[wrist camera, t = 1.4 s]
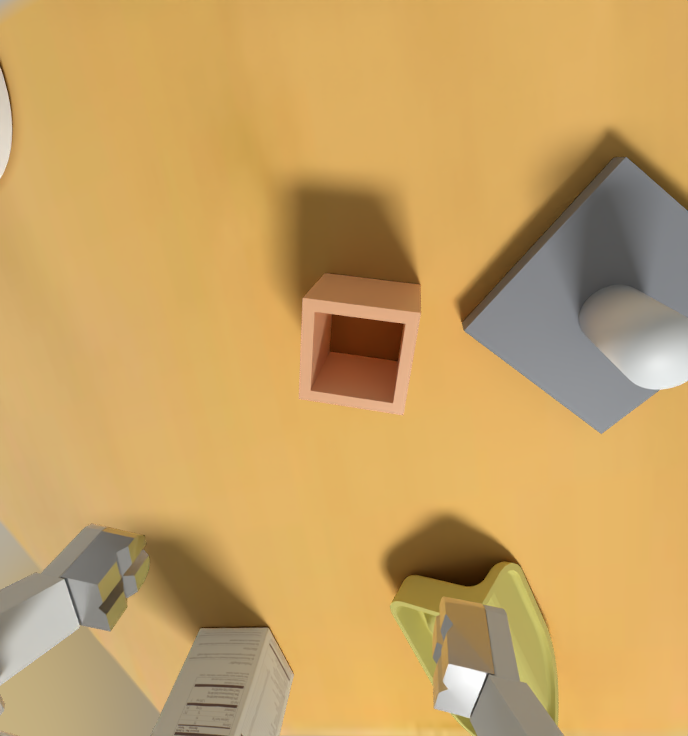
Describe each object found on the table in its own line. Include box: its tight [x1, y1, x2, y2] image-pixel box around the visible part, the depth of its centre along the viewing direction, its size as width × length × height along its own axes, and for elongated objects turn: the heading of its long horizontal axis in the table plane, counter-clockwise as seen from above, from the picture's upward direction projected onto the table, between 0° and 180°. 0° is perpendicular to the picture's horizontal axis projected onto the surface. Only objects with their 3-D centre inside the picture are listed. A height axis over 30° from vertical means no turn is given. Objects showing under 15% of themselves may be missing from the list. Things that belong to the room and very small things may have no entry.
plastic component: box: [390, 562, 558, 736], centre depth 39 cm, size 20×7×10 cm
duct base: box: [462, 157, 688, 434], centre depth 22 cm, size 12×12×8 cm
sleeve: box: [299, 273, 421, 415], centre depth 26 cm, size 6×6×6 cm
